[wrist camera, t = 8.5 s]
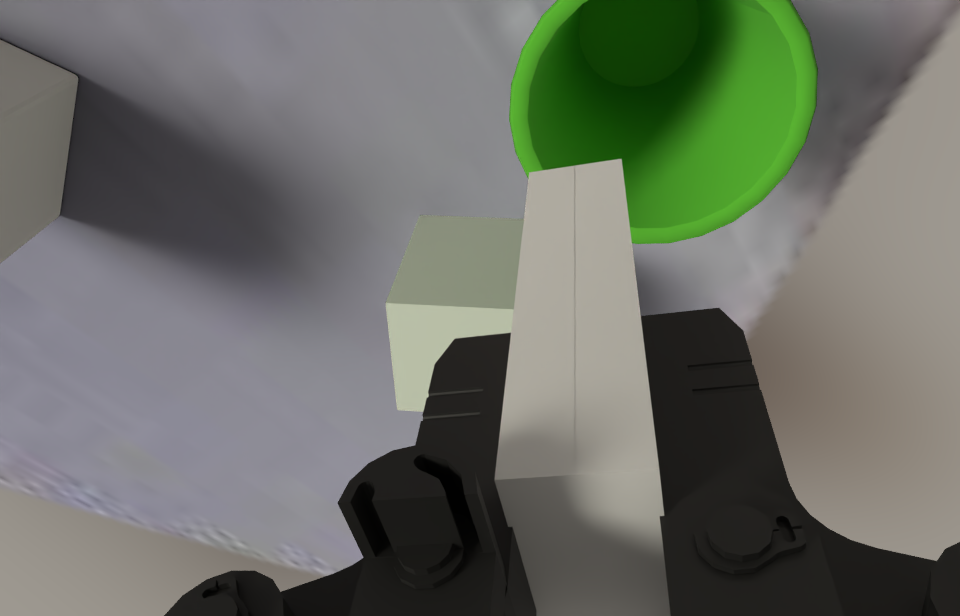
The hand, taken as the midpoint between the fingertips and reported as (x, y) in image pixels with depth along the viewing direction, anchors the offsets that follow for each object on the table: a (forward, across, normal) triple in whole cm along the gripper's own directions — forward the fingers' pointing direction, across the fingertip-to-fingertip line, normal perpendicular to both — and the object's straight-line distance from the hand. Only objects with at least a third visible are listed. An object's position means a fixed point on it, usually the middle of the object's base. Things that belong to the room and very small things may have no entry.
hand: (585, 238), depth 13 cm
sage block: (+22, -7, -14) cm, 27 cm away
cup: (+22, +2, -3) cm, 22 cm away
